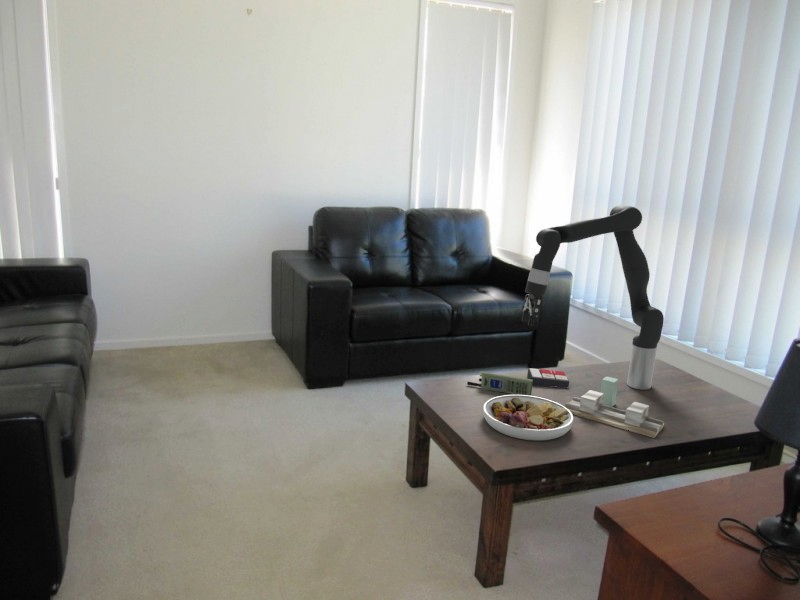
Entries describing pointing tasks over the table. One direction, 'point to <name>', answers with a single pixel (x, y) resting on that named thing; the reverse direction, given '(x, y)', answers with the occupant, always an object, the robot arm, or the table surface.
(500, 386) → the handheld radio
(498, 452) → the table surface
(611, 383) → the sage module
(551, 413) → the bowl
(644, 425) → the rail board
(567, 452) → the table surface
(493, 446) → the table surface
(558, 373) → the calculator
